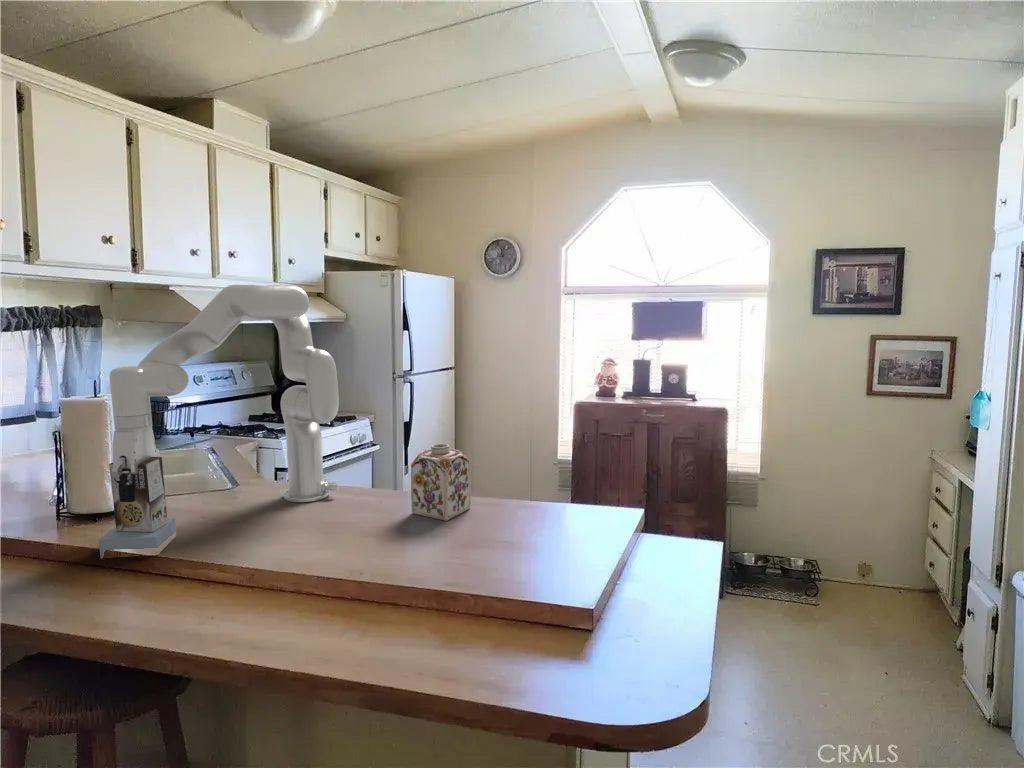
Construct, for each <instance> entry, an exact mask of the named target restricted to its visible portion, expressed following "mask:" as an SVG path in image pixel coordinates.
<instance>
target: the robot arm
mask: <svg viewBox="0 0 1024 768" xmlns="http://www.w3.org/2000/svg"><path fill="white" fill-rule="evenodd" d="M309 307H310V299H309V296H308V294H307V292H306V291H305V290H304V289H303V288H301V287H299V286H297V285H276V284H273V285H272V284H270V285H269V284H268V285H257V284H231V285H230V284H229V285H228V286H227V285H226V286H225V287H223V288H222V290H220V291H219V292H218V293H217V294H216V295H215V296H214V298H212V299H211V301H210V302H208V303H207V305H206V306H205V307H204V308H203V309H202V310H201V311H200V312H199V313H198V314H197V315H196V316H195V317H194V318H193V319H191V321H190V322H189V323H188V324H186V325H185V326H184V327H182V328H180V329H178V330H177V331H176V332H174V333H173V334H171V335H170V336H168V337H166V338H165V339H163V340H162V341H160V342H159V343H158V344H157V345H156V346H154V348H153V349H151V350H150V351H149V353H148V354H147V355H146V356H144V358H143V359H142V360H141V361H139V363H138V365H137V366H135V365H134V366H122V367H116V368H115V367H114V368H113V369H112V370H111V371H110V372H109V385H110V394H111V395H110V397H111V405H112V416H113V424H114V426H113V427H114V431H113V436H112V463H113V468H112V470H111V472H112V474H113V476H114V480H115V481H116V484H117V485H118V488H119V498H120V502H134V501H135V492H134V484H131V483H132V480H133V477H134V474H136V473H138V464H140V463H142V462H144V461H145V460H147V459H149V458H151V457H160V449H158V448H157V446H156V440H155V435H154V430H153V419H152V418H153V417H152V408H151V397H172V396H177V395H179V394H181V393H183V392H184V391H185V389H187V388H188V386H189V380H190V379H189V375H188V373H187V371H186V369H184V368H183V367H181V365H182V364H184V363H185V362H188V360H190V359H192V358H194V357H197V356H199V355H203V354H206V353H209V352H211V351H213V350H215V349H217V348H219V347H220V346H221V345H222V344H223V343H224V342H225V340H226V339H227V338H228V337H229V336H230V335H231V334H232V332H233V331H235V329H237V327H238V326H239V325H240V324H241V323H242V322H243V321H244V320H252V321H253V320H257V321H258V320H259V321H271V322H272V323H273V324H274V326H275V328H276V330H277V333H278V339H279V348H280V357H281V366H282V371H283V374H284V376H285V377H286V378H287V379H289V380H291V381H294V382H299V383H300V382H301V383H305V384H306V385H301V384H299V385H292V386H291V387H288V388H287V389H285V391H284V392H283V393H282V395H281V398H280V410H281V415H282V419H283V423H284V430H285V440H286V441H285V442H286V445H285V446H286V457H287V458H286V459H287V462H286V464H287V477H288V489H286V490H285V491H284V492H283V499H284V500H285V501H287V502H291V503H292V502H293V503H309V502H315V501H320V500H323V499H325V498H327V497H328V496H330V493H331V491H332V492H336V491H337V492H338V491H339V484H338V483H337V482H336V481H335V482H329V481H327V477H325V476H324V465H323V464H324V463H323V445H322V444H323V443H322V440H323V439H322V430H321V425H322V424H328V423H330V422H332V421H333V420H334V419H335V418H336V416H337V415H338V412H339V408H340V407H339V406H340V397H339V394H340V393H339V383H338V371H337V366H336V361H335V360H334V358H333V356H332V355H331V354H330V353H329V352H328V351H326V350H324V349H322V348H316V347H314V343H313V342H314V341H313V335H312V329H311V324H310V321H309V320H308V317H307V316H306V315H305V314H306V313H307V312H308V309H309ZM320 424H321V425H320ZM125 469H131V471H125ZM124 475H128V478H126V477H125V476H124Z"/></svg>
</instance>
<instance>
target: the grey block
mask: <svg viewBox="0 0 1024 768" xmlns="http://www.w3.org/2000/svg"><path fill="white" fill-rule="evenodd" d="M167 521H168V523H167V524H165V525H164V526H162V527H160V528H159V529H157V530H155V531H154V532H127V531H116V525H115V526H114V527H112V528H111V529H110V530H108V532H106V533H105V534H104V535H103V536H101V537H100V538H99V539H98V546H99V554H100V556H99V557H100V560H103V559H102V558H103V556H104V552H105V551H106V550H114V549H144V548H158V547H159V546H160V545H161V544H162V543H163V542H164V541H166V540H167V539H168V538H169V537H170V536H172V535H173V534H174V533H175V532H176V533H177V524H176V517H169V518H168V517H167Z"/></svg>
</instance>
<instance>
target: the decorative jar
mask: <svg viewBox="0 0 1024 768" xmlns="http://www.w3.org/2000/svg"><path fill="white" fill-rule="evenodd" d="M471 488H472V487H471V461H470V459H469V458H468V456H466V454H464V453H463V452H462V451H461V450H459V449H455V448H450V445H449V444H446V443H437V444H433V445H431V447H430V449H426V450H423V451H419V453H418V454H417V456H416V457H415V458H414V460H413V461H412V462H411V463H410V500H411V513H412V514H414V515H417V516H422V517H427V518H432V519H436V520H440V521H446V522H447V521H449V520H451V519H453V518H455V517H457V516H460V515H461V514H462V513H464V512H466V511H468V510H469V509H471V506H472V505H471V503H472V500H471V498H472V495H471V492H472V491H471V490H472V489H471Z"/></svg>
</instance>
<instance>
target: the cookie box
mask: <svg viewBox="0 0 1024 768" xmlns="http://www.w3.org/2000/svg"><path fill="white" fill-rule="evenodd" d="M108 468H109V476H110V486H111V496H112V505H113V512H114V513H113V514H114V522H115V523H114V524H115V526H116V531H127V532H154V531H155V530H157V529H159V528H160V527H162V526H164V525H165V524H167V523H168V521H167V518H168V513H167V512H168V511H167V501H166V492H165V491H166V490H165V489H166V488H165V479H164V466H163V457H162V456H159V457H151V458H149V459H147V460H145V461H144V462H142V463H140V464H138V473H136V474H134V477H133V480H132V483H131V484H134V492H135V501H134V502H120V498H119V488H118V485H117V484H116V481H115V480H114V476H113V474H112V472H111V470H112V468H113V462H110V463H108ZM125 471H131V469H125ZM124 476H125V477H126V478H128V475H124Z"/></svg>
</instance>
